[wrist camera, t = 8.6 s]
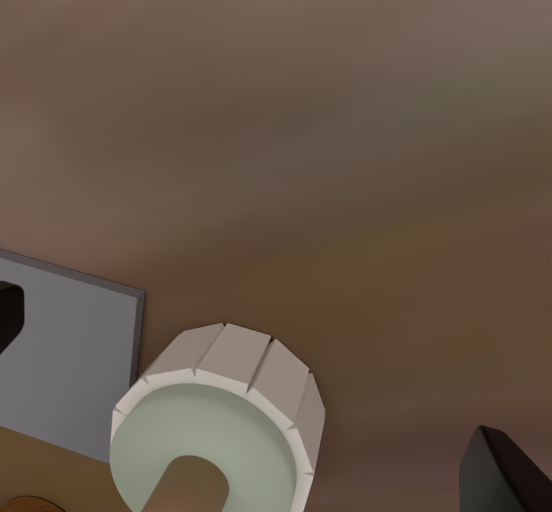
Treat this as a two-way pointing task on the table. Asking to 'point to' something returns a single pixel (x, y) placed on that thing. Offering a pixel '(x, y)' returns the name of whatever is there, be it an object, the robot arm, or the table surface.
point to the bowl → (243, 386)
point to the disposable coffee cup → (29, 505)
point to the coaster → (68, 355)
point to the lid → (201, 454)
